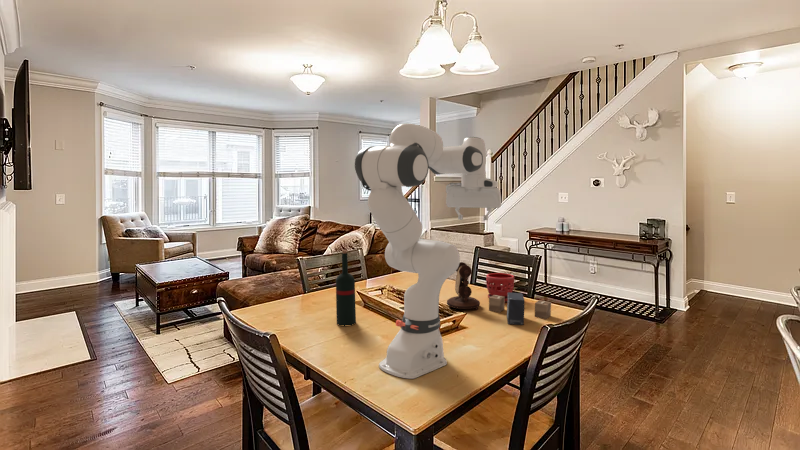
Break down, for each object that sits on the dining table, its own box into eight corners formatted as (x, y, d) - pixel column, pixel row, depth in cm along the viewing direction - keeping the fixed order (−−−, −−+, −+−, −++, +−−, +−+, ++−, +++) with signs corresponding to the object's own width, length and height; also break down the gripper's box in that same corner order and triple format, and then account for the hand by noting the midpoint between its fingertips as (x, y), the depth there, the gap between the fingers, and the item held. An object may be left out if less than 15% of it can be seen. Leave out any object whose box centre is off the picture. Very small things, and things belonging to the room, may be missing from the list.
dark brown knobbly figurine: (443, 302, 195) (444, 261, 192) (474, 301, 196) (475, 260, 194) (450, 312, 180) (451, 267, 178) (483, 311, 181) (484, 266, 179)
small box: (524, 325, 164) (525, 299, 163) (507, 324, 165) (508, 299, 164) (522, 316, 174) (522, 292, 173) (506, 316, 175) (506, 291, 174)
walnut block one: (546, 319, 171) (546, 304, 170) (534, 316, 174) (535, 302, 174) (550, 316, 175) (551, 301, 174) (538, 313, 178) (539, 299, 177)
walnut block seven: (499, 312, 180) (499, 298, 179) (488, 310, 183) (489, 296, 182) (504, 309, 184) (504, 296, 183) (493, 307, 187) (494, 294, 186)
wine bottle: (358, 317, 174) (356, 247, 171) (354, 326, 164) (352, 251, 161) (339, 317, 175) (337, 247, 171) (334, 326, 165) (332, 251, 161)
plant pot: (519, 300, 197) (520, 276, 196) (499, 305, 191) (499, 279, 189) (500, 294, 208) (500, 270, 207) (480, 298, 202) (480, 274, 200)
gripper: (443, 182, 153) (443, 219, 155) (500, 182, 146) (499, 221, 148) (447, 182, 159) (447, 218, 161) (502, 182, 152) (501, 219, 154)
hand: (473, 219), depth 154 cm, fingers open, 8 cm apart
